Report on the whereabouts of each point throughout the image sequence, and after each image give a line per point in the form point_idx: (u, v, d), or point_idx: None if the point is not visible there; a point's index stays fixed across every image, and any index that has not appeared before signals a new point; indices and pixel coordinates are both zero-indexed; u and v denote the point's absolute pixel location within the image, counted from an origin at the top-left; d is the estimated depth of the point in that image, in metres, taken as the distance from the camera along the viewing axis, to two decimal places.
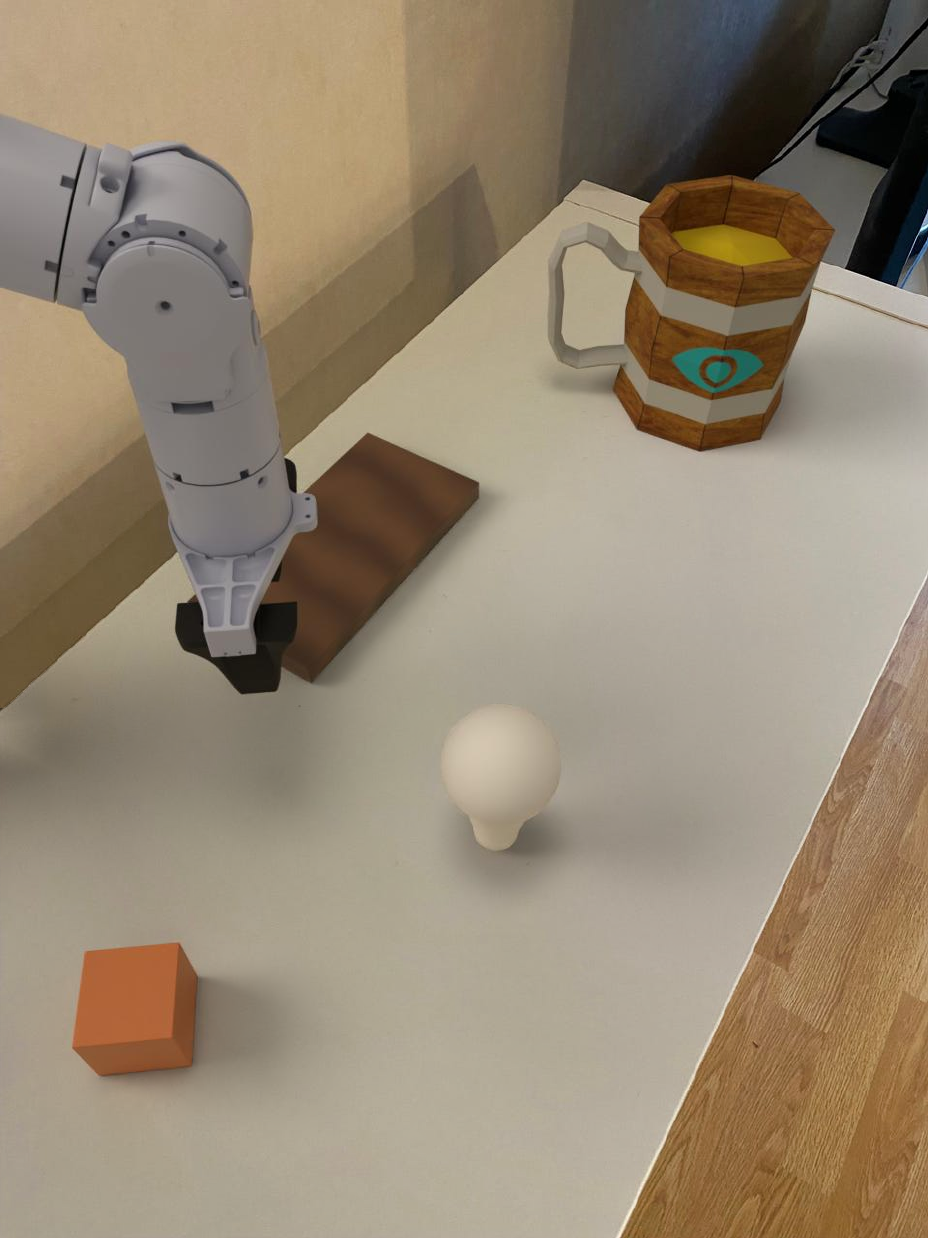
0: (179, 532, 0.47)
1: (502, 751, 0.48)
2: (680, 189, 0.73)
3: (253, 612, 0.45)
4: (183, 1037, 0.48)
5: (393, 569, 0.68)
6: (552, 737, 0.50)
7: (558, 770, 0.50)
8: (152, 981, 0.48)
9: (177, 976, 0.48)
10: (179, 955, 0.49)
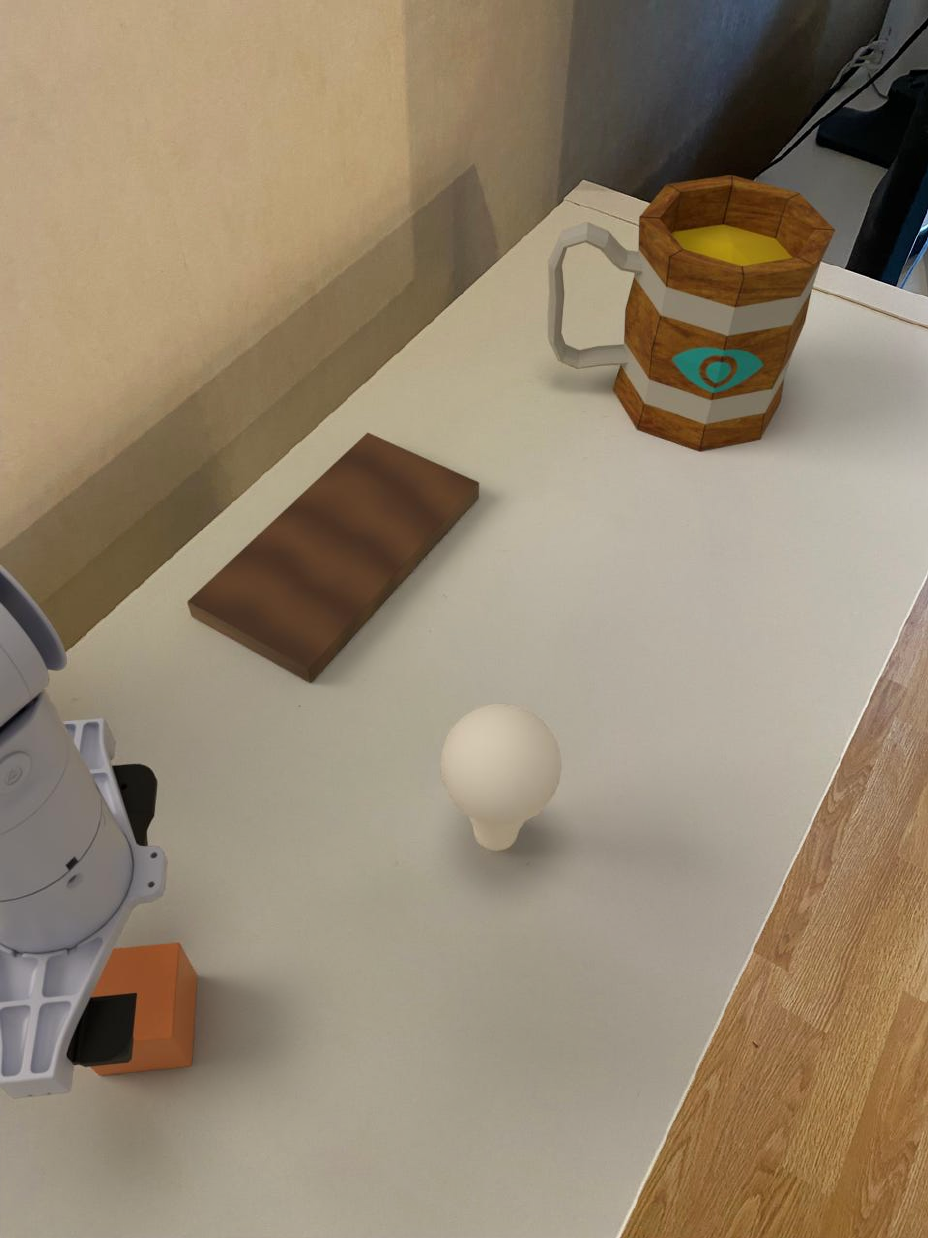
0: None
1: (502, 752, 0.48)
2: (680, 189, 0.73)
3: (65, 1044, 0.35)
4: (183, 1037, 0.48)
5: (393, 569, 0.68)
6: (552, 737, 0.50)
7: (558, 770, 0.50)
8: (152, 981, 0.48)
9: (177, 976, 0.48)
10: (179, 955, 0.49)
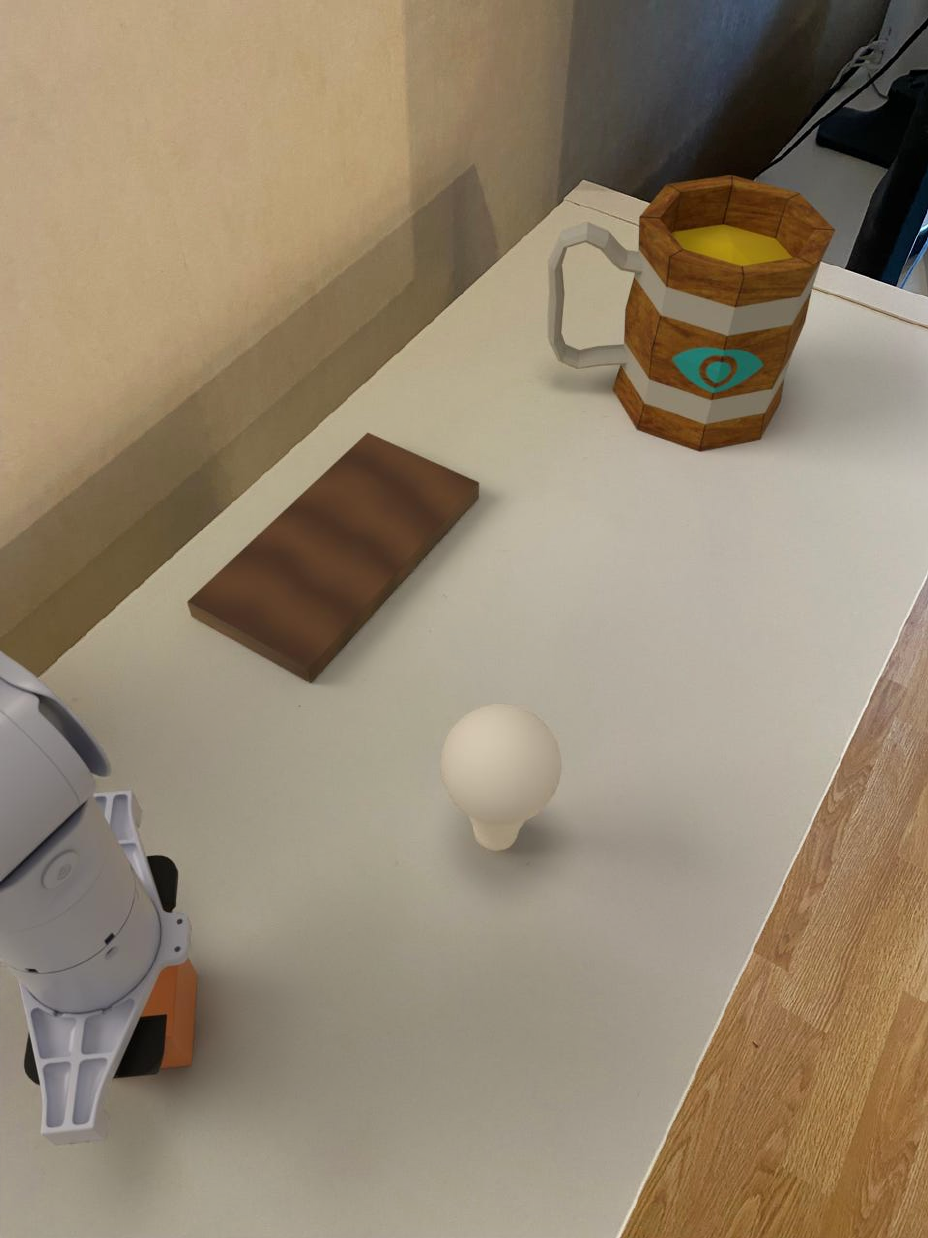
0: None
1: (502, 752, 0.48)
2: (680, 189, 0.73)
3: (102, 1098, 0.39)
4: (183, 1036, 0.48)
5: (393, 569, 0.68)
6: (552, 737, 0.50)
7: (558, 770, 0.50)
8: None
9: (177, 975, 0.48)
10: None
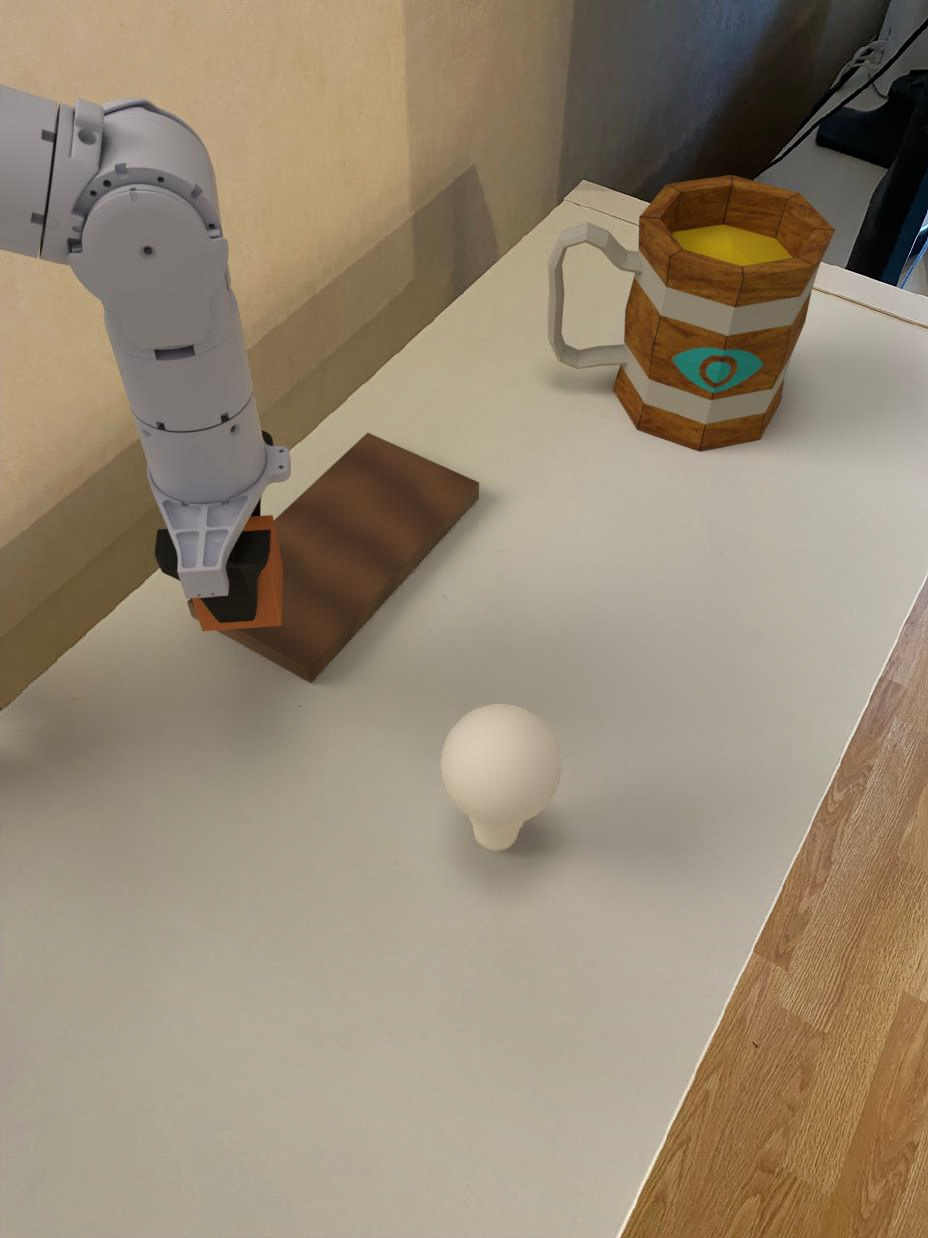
0: (157, 480, 0.49)
1: (502, 752, 0.48)
2: (680, 189, 0.73)
3: (225, 555, 0.47)
4: (276, 590, 0.57)
5: (393, 569, 0.68)
6: (552, 737, 0.50)
7: (558, 770, 0.50)
8: None
9: (272, 536, 0.56)
10: (273, 524, 0.57)
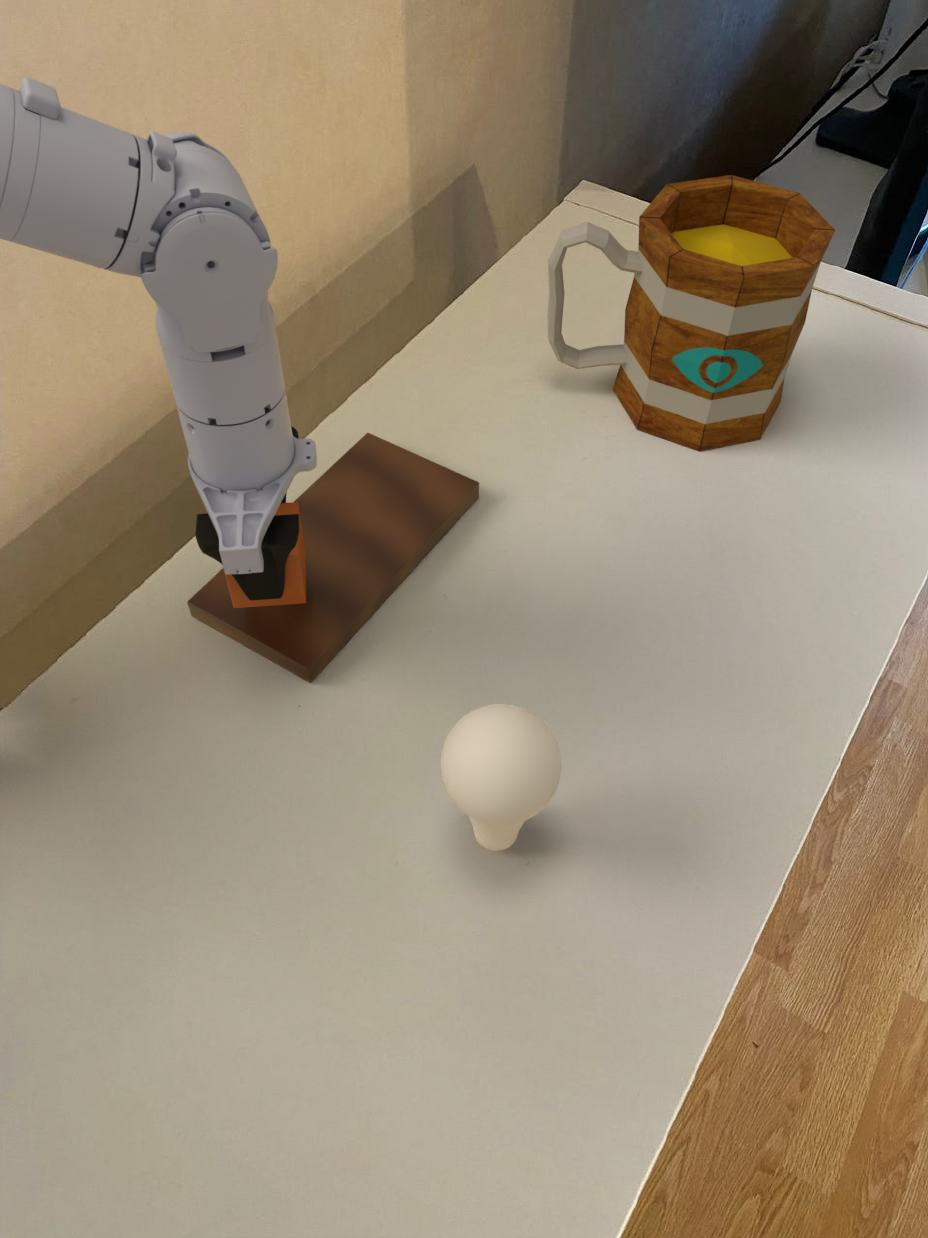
0: (197, 469, 0.55)
1: (502, 752, 0.48)
2: (680, 189, 0.73)
3: (261, 536, 0.53)
4: (302, 570, 0.62)
5: (393, 569, 0.68)
6: (552, 737, 0.50)
7: (558, 770, 0.50)
8: None
9: None
10: (298, 510, 0.63)
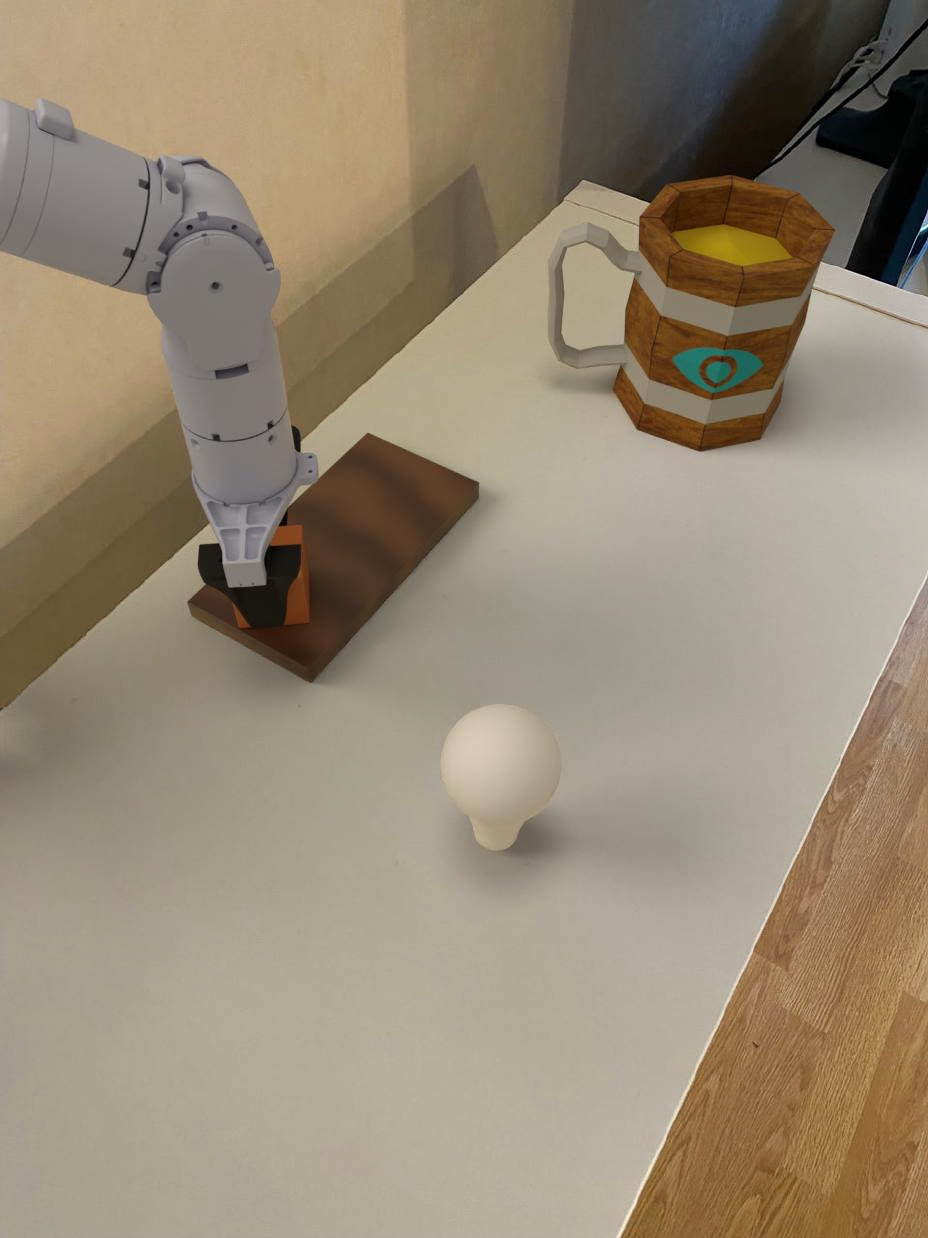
0: (201, 483, 0.56)
1: (502, 752, 0.48)
2: (680, 189, 0.73)
3: (264, 549, 0.54)
4: (305, 592, 0.64)
5: (393, 569, 0.68)
6: (552, 737, 0.50)
7: (558, 770, 0.50)
8: None
9: (301, 544, 0.63)
10: (302, 533, 0.64)
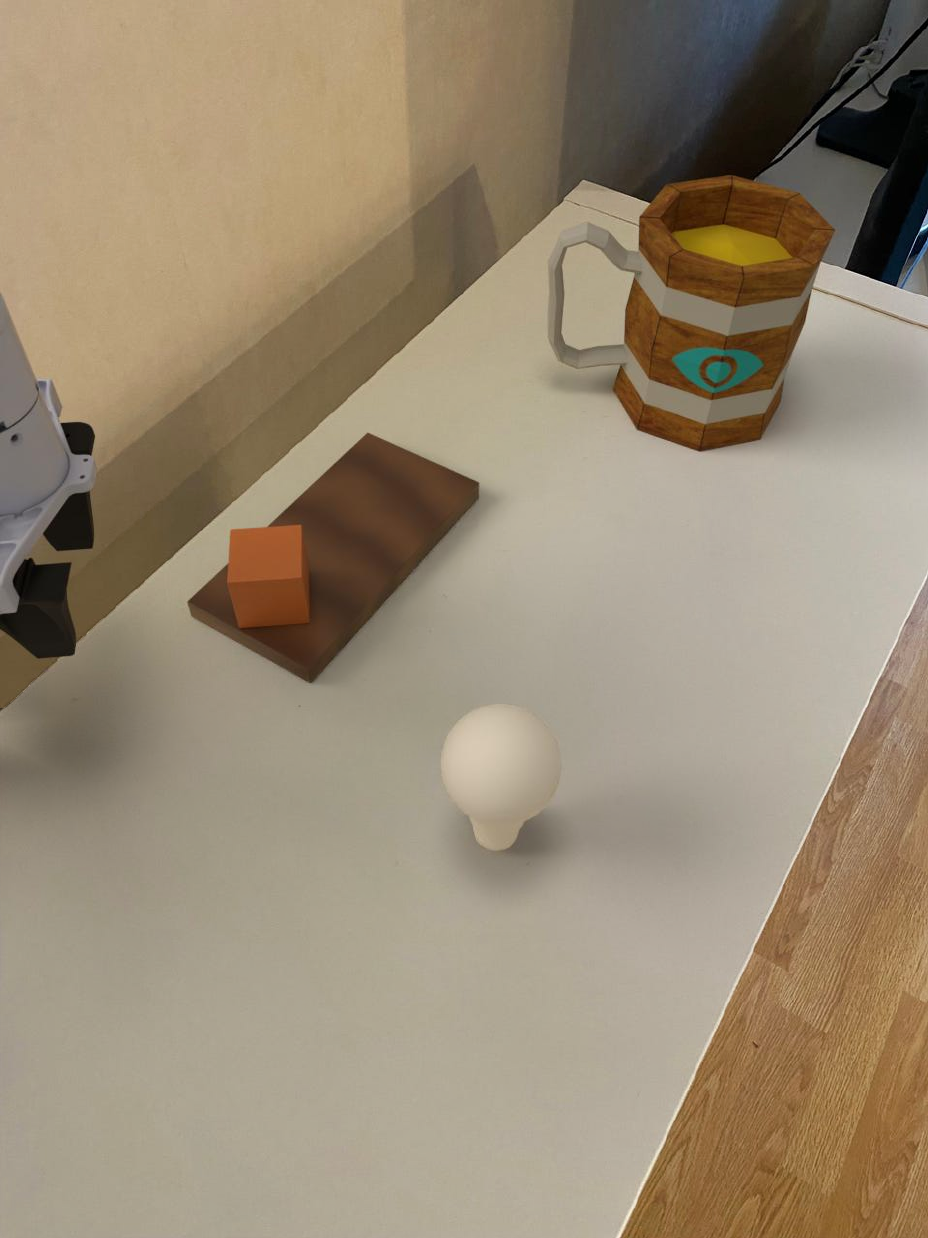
0: None
1: (502, 752, 0.48)
2: (680, 189, 0.73)
3: (11, 570, 0.45)
4: (305, 592, 0.64)
5: (393, 569, 0.68)
6: (552, 737, 0.50)
7: (558, 770, 0.50)
8: (283, 546, 0.63)
9: (301, 544, 0.63)
10: (302, 533, 0.64)
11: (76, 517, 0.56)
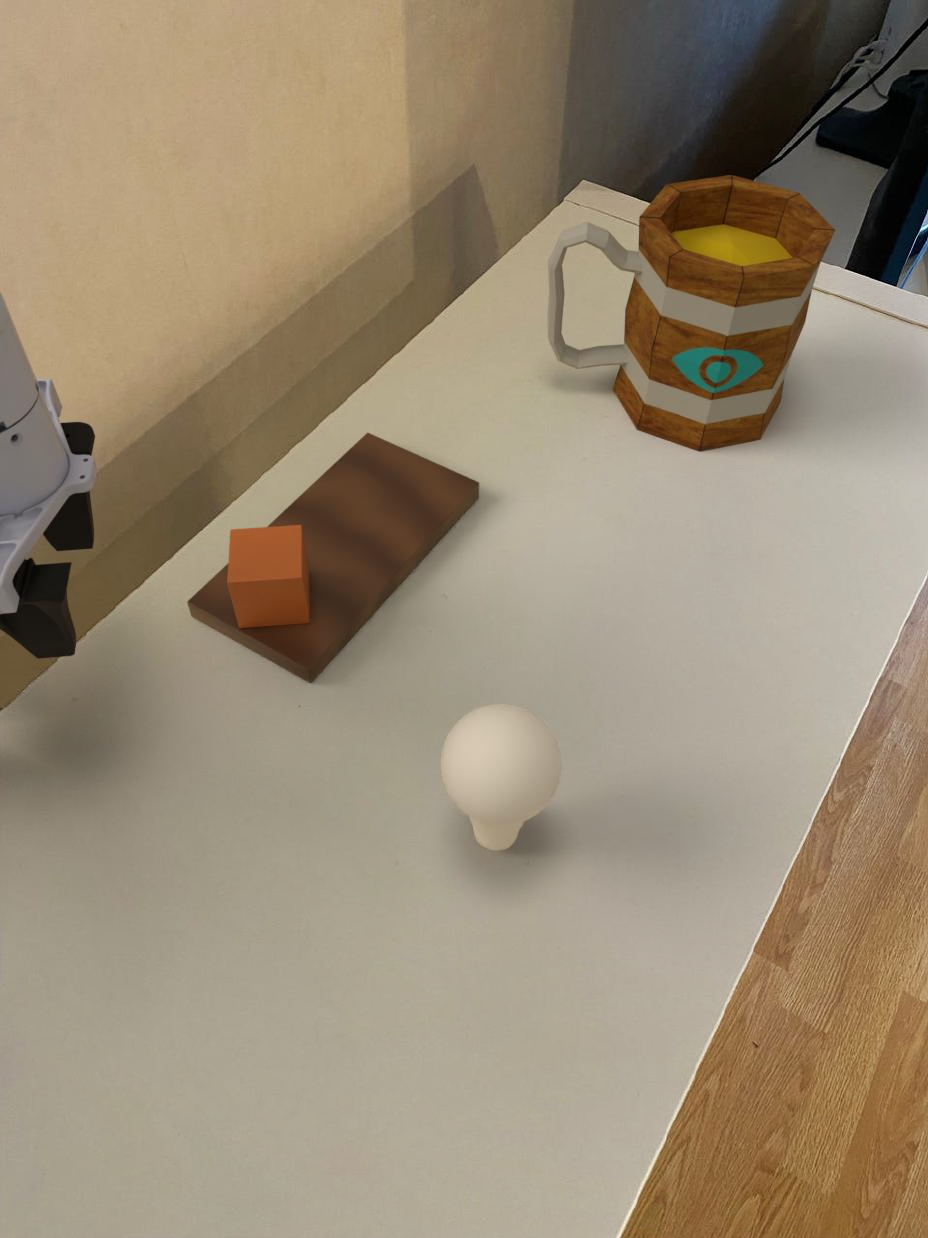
0: None
1: (502, 752, 0.48)
2: (680, 189, 0.73)
3: (11, 570, 0.45)
4: (305, 592, 0.64)
5: (393, 569, 0.68)
6: (552, 737, 0.50)
7: (558, 770, 0.50)
8: (283, 546, 0.63)
9: (301, 544, 0.63)
10: (302, 533, 0.64)
11: (76, 517, 0.56)
